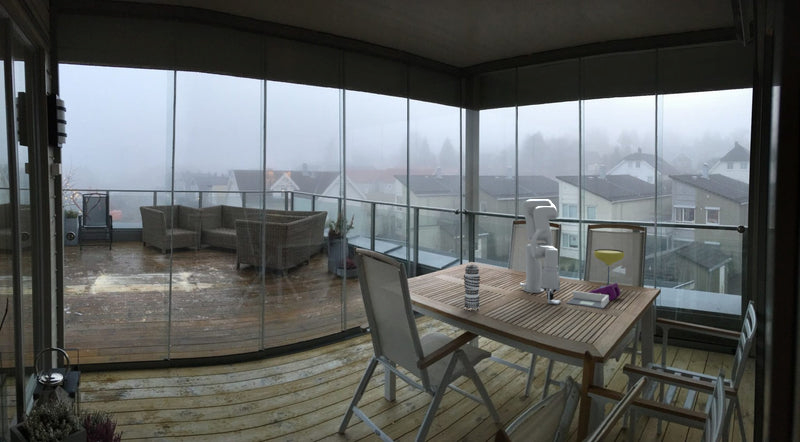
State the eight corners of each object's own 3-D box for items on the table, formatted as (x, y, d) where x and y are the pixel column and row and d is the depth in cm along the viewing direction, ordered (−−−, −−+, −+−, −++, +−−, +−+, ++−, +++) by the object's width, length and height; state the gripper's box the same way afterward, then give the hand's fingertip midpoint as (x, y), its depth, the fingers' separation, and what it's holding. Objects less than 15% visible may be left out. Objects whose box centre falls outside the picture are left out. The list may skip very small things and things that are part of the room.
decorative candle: (467, 311, 257) (467, 267, 255) (461, 307, 266) (461, 264, 264) (482, 310, 260) (482, 266, 258) (475, 305, 269) (475, 263, 267)
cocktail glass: (624, 287, 311) (625, 250, 309) (621, 292, 296) (622, 254, 294) (596, 284, 321) (596, 248, 319) (591, 289, 306) (592, 252, 304)
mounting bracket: (589, 306, 286) (617, 298, 274) (583, 293, 288) (611, 285, 276) (595, 303, 293) (622, 295, 281) (589, 291, 294) (616, 282, 283)
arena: (566, 303, 271) (566, 296, 271) (573, 298, 283) (573, 290, 283) (603, 308, 260) (603, 300, 259) (608, 302, 272) (608, 295, 271)
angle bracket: (547, 302, 271) (548, 291, 271) (550, 300, 276) (551, 289, 276) (558, 304, 268) (558, 292, 267) (561, 302, 273) (561, 290, 272)
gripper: (536, 268, 273) (535, 299, 275) (562, 271, 264) (561, 303, 266) (540, 266, 279) (539, 296, 281) (565, 269, 270) (565, 300, 272)
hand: (550, 299), depth 273 cm, fingers closed on angle bracket, 1 cm apart
